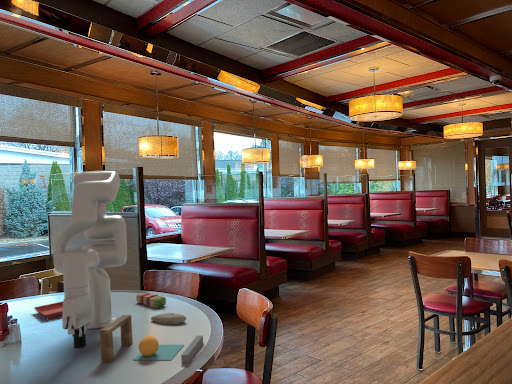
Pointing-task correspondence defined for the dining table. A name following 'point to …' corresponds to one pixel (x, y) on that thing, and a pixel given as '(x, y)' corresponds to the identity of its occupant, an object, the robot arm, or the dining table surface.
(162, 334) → the dining table surface
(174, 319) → the decorative stone
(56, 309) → the plant saucer
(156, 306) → the skewer
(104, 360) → the bridge
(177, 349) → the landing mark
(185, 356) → the stopper rail
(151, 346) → the ball
